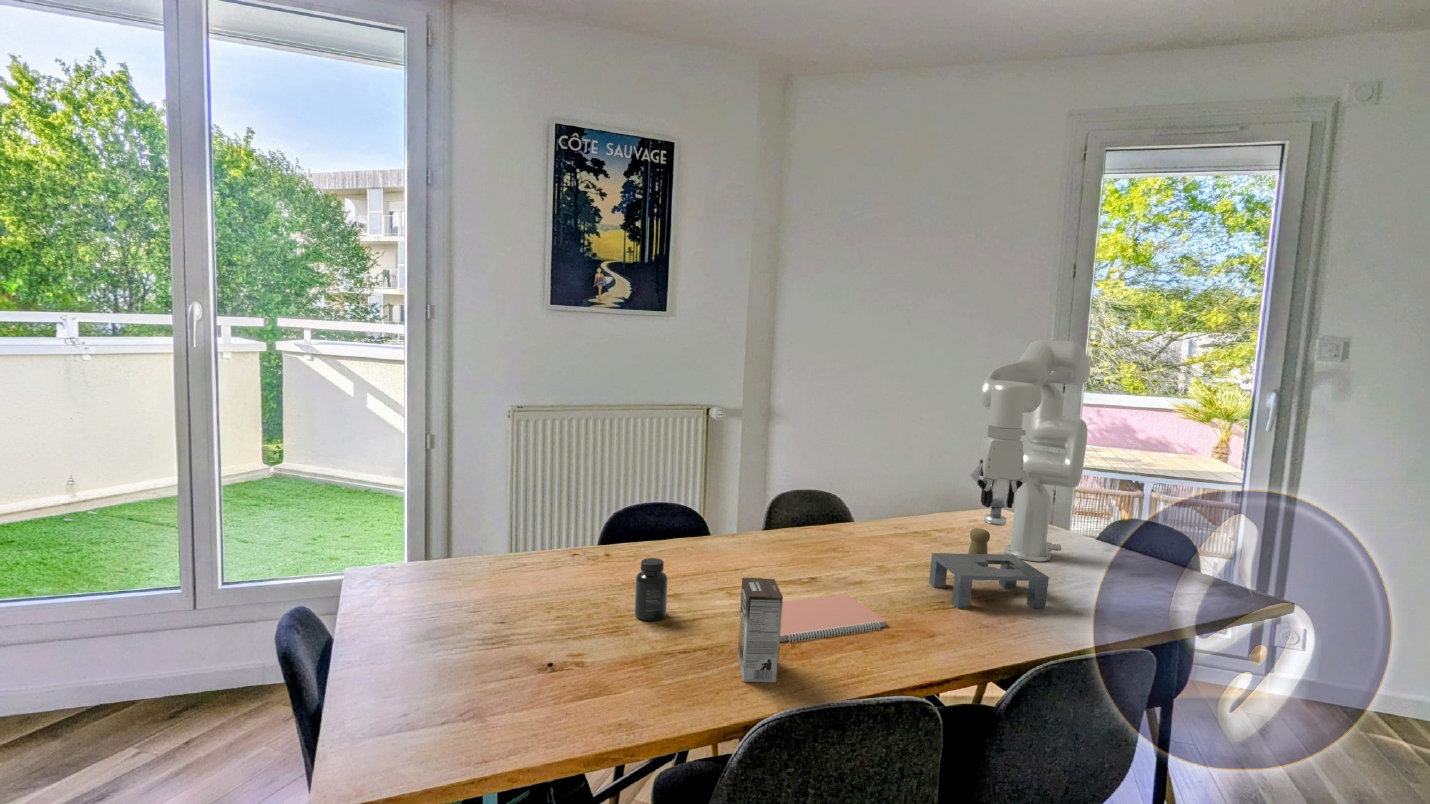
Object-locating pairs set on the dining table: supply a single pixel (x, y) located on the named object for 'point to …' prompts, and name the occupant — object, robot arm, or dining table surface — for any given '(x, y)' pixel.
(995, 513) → the peg
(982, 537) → the cork
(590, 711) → the dining table surface
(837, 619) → the notebook
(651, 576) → the supplement bottle
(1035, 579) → the grey windowed bracket
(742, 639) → the coffee box
